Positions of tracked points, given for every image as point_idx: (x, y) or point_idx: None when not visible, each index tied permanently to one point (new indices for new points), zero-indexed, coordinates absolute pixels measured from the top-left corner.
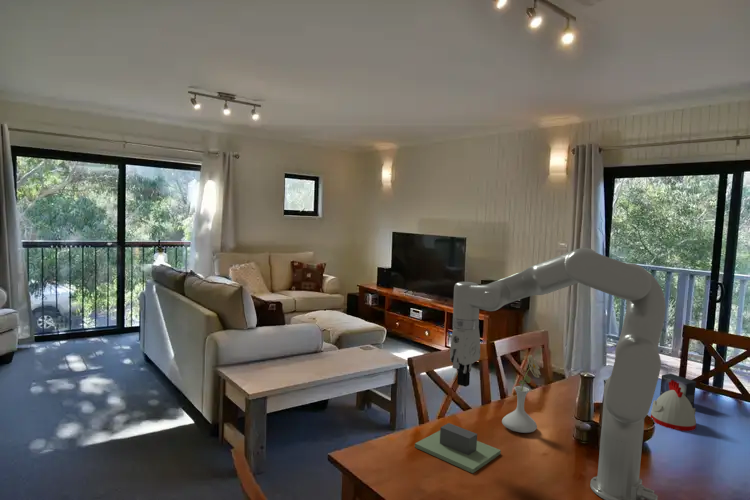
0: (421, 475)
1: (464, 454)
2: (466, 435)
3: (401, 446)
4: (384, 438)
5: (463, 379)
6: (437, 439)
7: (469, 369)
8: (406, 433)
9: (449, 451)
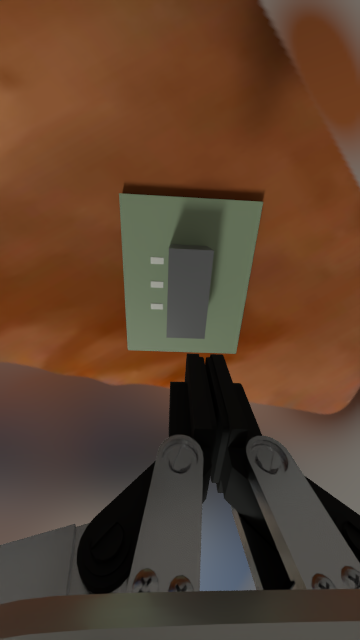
0: (327, 283)
1: None
2: (201, 266)
3: (246, 366)
4: None
5: (245, 401)
6: None
7: (186, 463)
8: None
9: (219, 287)
